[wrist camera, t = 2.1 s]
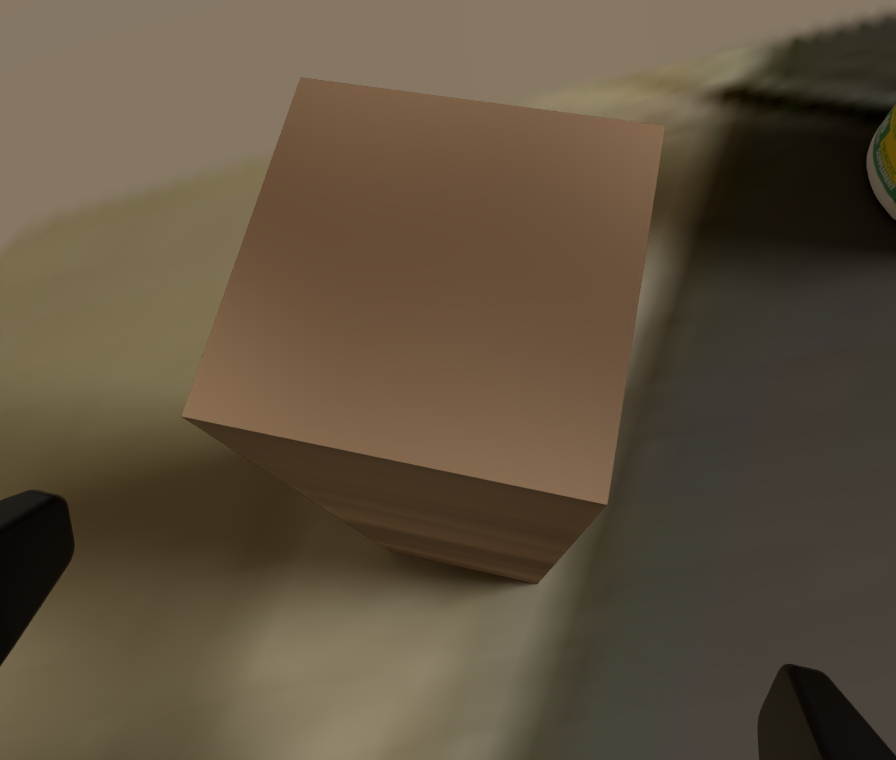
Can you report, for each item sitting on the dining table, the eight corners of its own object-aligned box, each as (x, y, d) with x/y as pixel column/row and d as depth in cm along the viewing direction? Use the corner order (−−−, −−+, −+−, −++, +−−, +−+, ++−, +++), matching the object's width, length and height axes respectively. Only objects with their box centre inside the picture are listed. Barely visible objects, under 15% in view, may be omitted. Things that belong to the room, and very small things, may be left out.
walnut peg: (536, 584, 18) (606, 504, 6) (388, 550, 19) (181, 417, 7) (563, 437, 20) (665, 126, 7) (423, 409, 20) (300, 76, 8)
